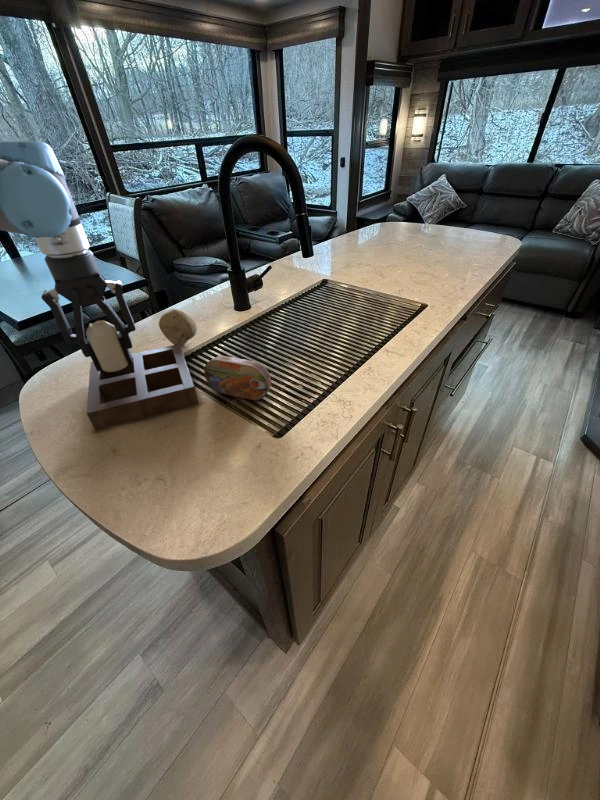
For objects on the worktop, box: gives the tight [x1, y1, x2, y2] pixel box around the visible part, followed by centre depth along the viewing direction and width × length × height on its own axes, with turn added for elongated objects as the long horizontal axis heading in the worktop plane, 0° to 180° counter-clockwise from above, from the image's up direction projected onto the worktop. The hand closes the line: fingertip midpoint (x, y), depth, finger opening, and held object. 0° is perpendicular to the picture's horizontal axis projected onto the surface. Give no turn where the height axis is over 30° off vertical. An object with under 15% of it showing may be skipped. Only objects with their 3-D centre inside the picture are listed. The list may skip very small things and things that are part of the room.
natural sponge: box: [158, 308, 198, 347], centre depth 87 cm, size 9×9×10 cm
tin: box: [203, 355, 272, 401], centre depth 70 cm, size 15×3×8 cm, turn 70°
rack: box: [86, 344, 200, 432], centre depth 73 cm, size 20×20×4 cm
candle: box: [85, 319, 128, 372], centre depth 70 cm, size 6×6×10 cm
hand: (115, 364), depth 73 cm, fingers closed on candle, 5 cm apart
